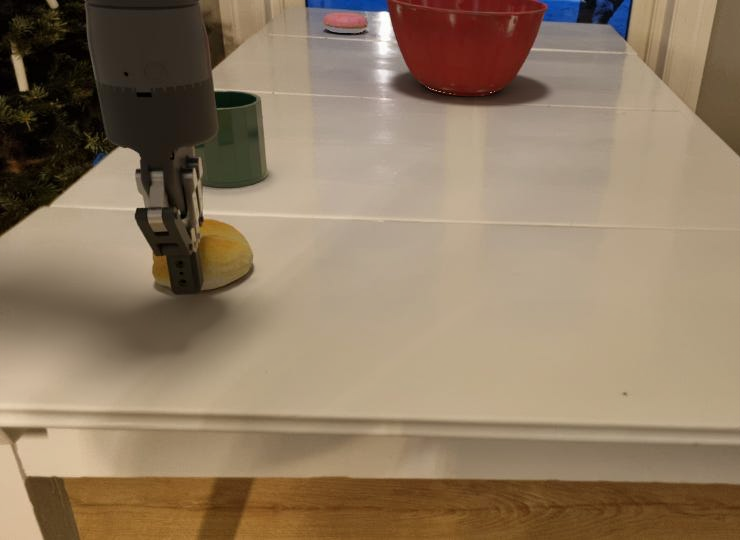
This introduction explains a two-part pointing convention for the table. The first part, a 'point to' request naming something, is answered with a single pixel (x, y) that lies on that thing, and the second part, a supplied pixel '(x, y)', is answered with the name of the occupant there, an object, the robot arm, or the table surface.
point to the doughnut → (345, 20)
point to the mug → (235, 142)
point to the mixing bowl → (465, 41)
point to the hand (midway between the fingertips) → (188, 290)
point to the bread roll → (214, 256)
